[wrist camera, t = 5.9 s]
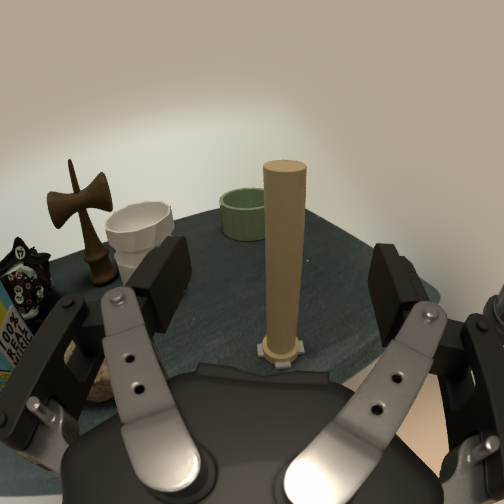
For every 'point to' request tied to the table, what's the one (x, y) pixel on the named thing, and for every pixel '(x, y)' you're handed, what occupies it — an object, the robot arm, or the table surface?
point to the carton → (11, 335)
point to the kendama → (86, 221)
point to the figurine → (27, 281)
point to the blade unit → (283, 259)
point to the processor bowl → (243, 214)
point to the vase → (137, 233)
